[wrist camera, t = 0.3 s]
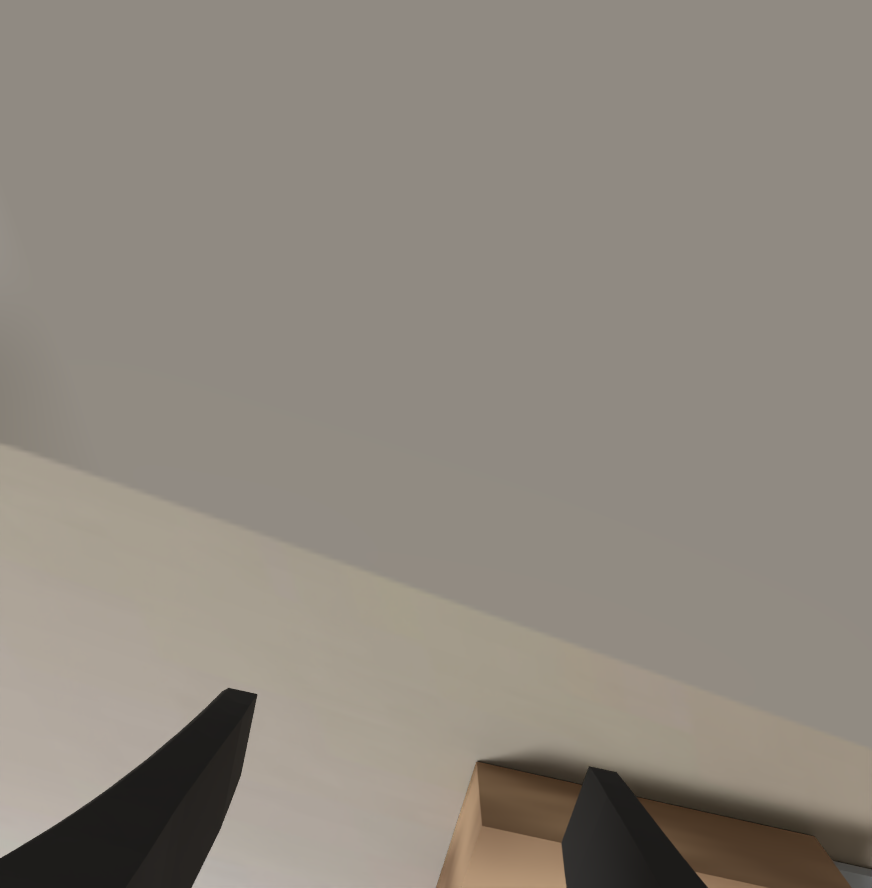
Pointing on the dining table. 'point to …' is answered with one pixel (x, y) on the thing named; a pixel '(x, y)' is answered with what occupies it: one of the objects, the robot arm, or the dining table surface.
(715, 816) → the block
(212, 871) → the dining table surface
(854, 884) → the rubber mat
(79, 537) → the dining table surface
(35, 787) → the dining table surface
